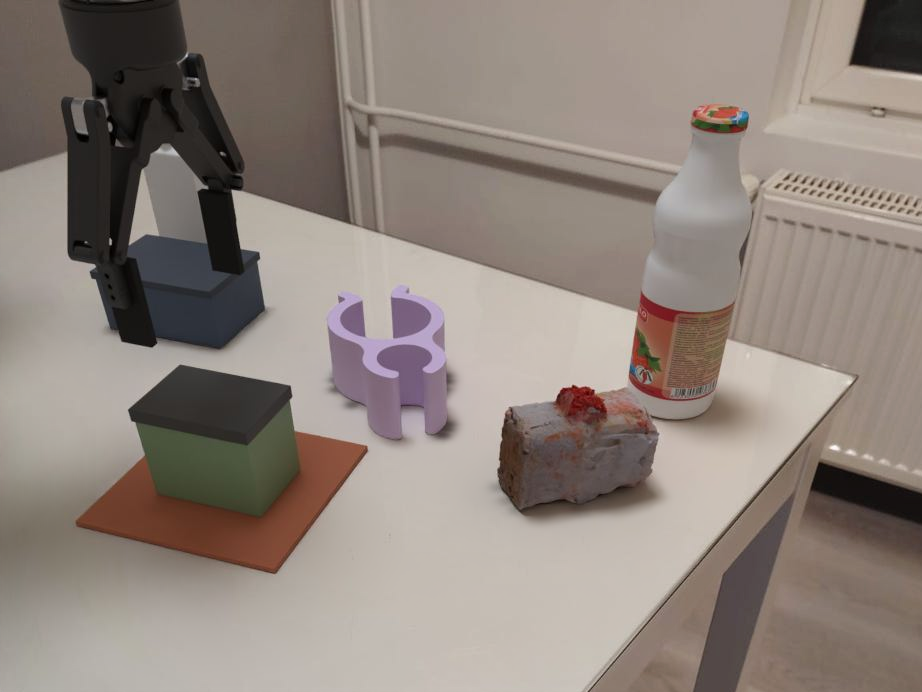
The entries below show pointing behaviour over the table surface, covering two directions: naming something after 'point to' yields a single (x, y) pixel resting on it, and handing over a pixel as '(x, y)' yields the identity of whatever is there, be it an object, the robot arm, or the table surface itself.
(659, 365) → the fruit juice
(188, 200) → the milk carton
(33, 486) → the table surface
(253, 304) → the lower tub
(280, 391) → the box
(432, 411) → the clip
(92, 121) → the robot arm
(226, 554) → the mat
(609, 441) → the food item
